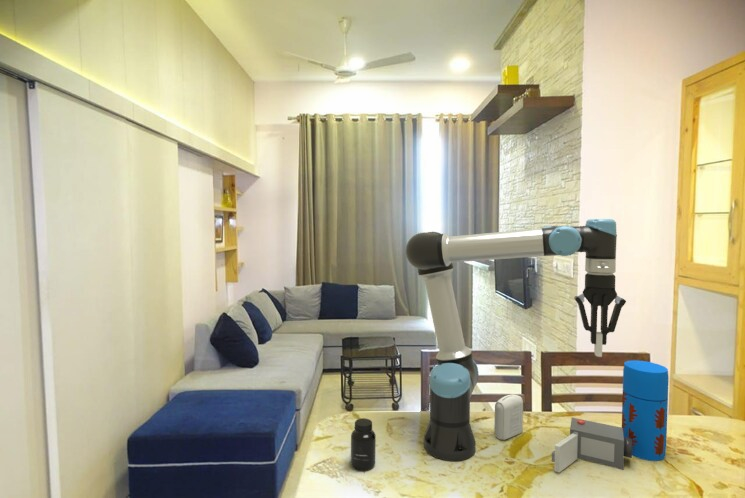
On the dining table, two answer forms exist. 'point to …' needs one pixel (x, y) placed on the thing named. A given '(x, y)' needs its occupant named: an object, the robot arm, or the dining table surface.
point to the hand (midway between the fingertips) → (598, 355)
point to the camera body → (601, 443)
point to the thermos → (645, 408)
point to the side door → (565, 452)
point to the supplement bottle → (363, 445)
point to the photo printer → (508, 416)
